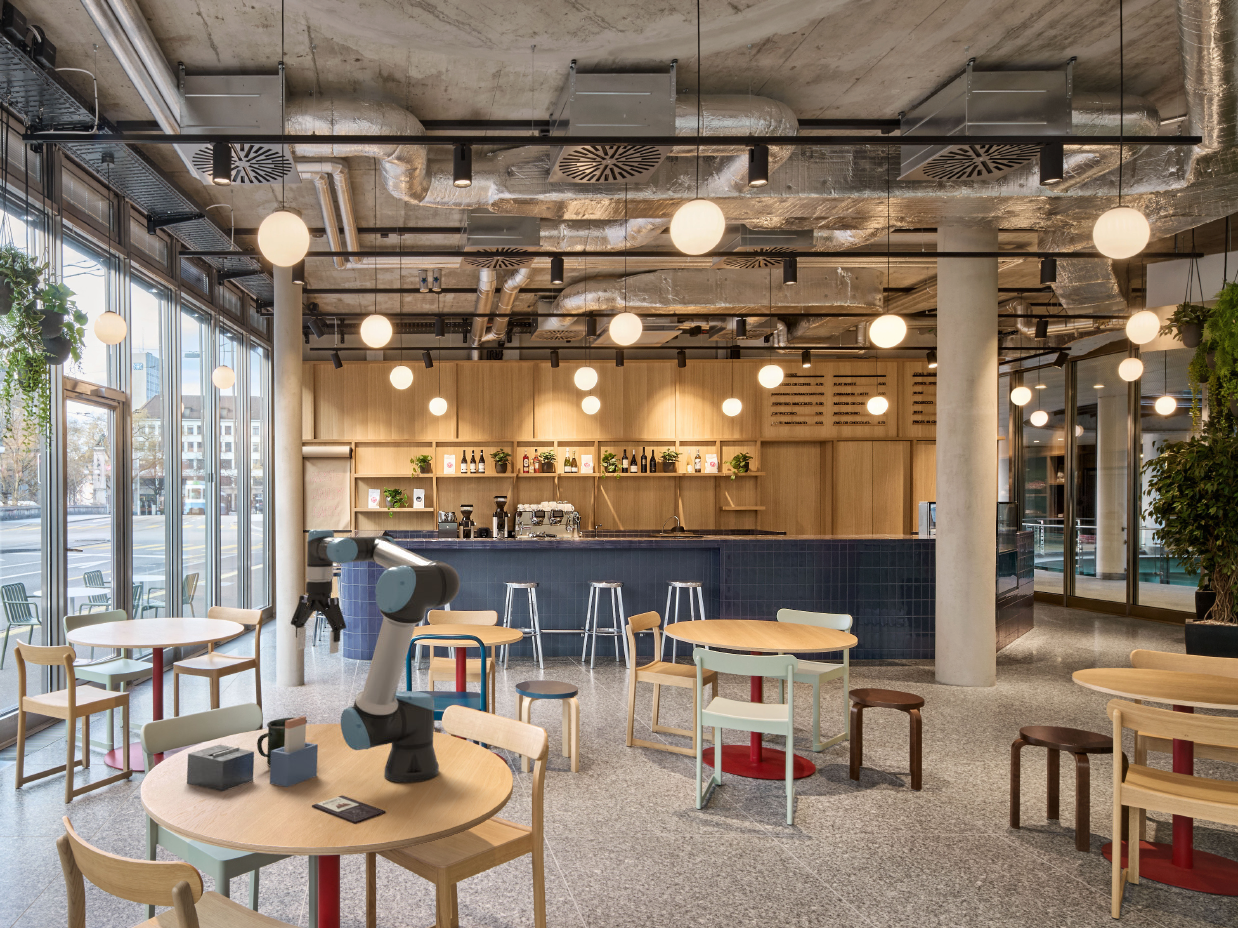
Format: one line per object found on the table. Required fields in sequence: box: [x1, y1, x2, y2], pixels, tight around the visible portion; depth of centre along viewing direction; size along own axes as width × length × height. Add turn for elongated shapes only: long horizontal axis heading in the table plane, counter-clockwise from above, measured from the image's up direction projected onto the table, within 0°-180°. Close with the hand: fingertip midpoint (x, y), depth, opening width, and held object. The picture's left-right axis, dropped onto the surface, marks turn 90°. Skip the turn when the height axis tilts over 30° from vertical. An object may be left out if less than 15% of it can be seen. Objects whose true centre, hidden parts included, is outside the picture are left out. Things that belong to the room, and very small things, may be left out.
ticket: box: [284, 715, 307, 753], centre depth 232 cm, size 2×6×16 cm, turn 154°
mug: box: [256, 717, 308, 767], centre depth 245 cm, size 11×15×12 cm
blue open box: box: [269, 741, 319, 788], centre depth 232 cm, size 7×11×9 cm, turn 154°
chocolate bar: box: [311, 795, 387, 825], centre depth 209 cm, size 9×1×18 cm
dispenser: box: [186, 744, 255, 793], centre depth 229 cm, size 14×10×9 cm
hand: (317, 650), depth 250 cm, fingers open, 13 cm apart
